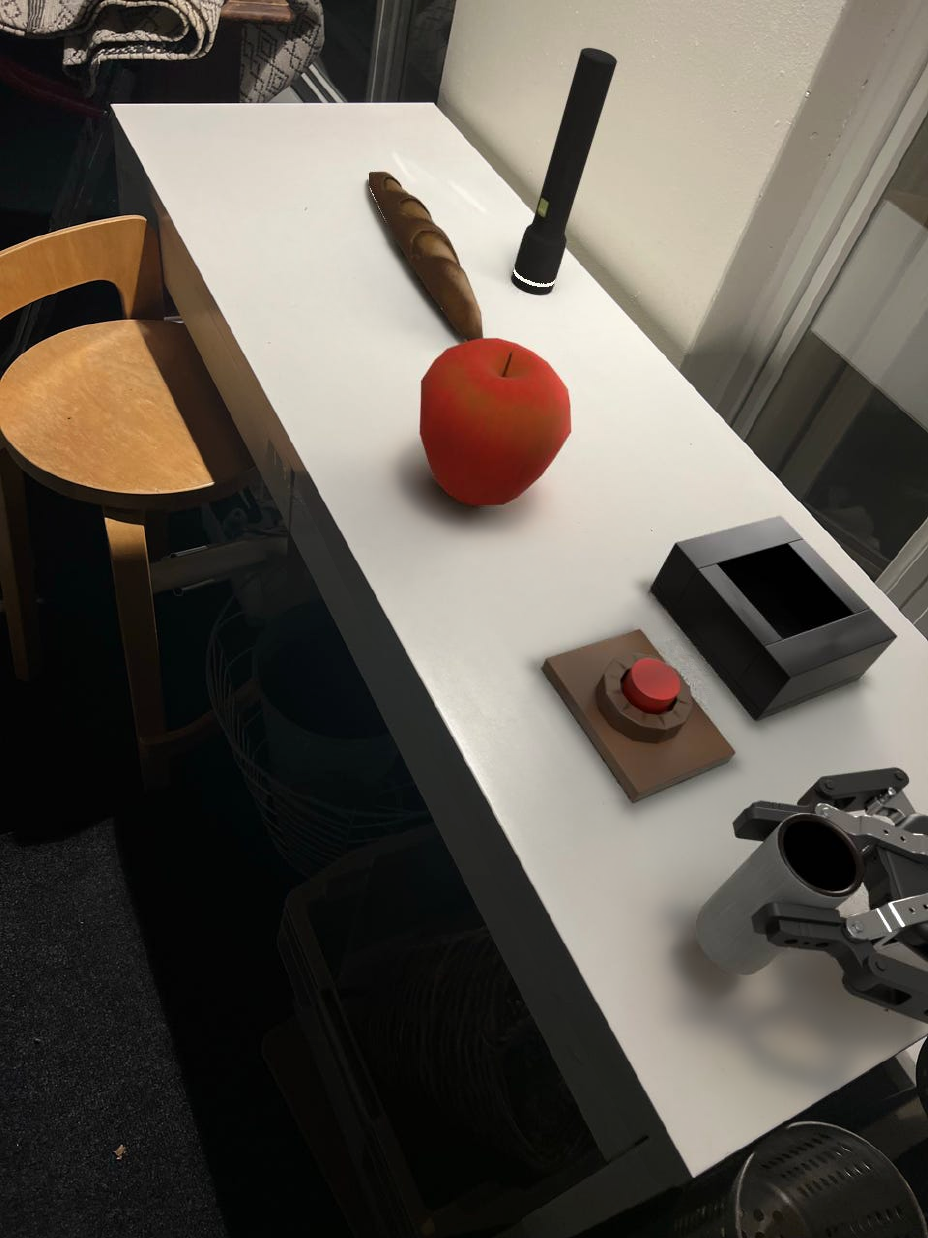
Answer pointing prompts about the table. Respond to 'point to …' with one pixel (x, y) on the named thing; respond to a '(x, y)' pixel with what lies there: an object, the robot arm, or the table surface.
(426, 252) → the bread
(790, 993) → the table surface
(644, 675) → the button
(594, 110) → the flashlight
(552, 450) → the apple
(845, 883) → the dark grey hollow cylinder
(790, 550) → the open-top black bin
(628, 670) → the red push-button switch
